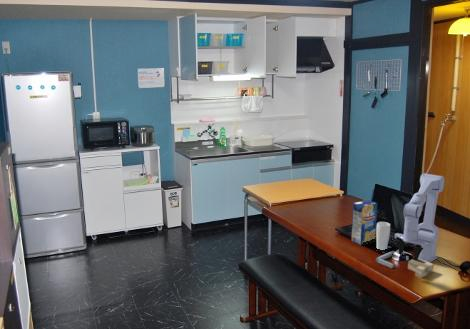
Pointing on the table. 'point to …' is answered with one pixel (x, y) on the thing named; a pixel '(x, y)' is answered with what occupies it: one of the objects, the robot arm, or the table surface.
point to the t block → (420, 268)
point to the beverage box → (364, 221)
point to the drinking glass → (382, 235)
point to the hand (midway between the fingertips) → (408, 256)
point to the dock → (381, 258)
